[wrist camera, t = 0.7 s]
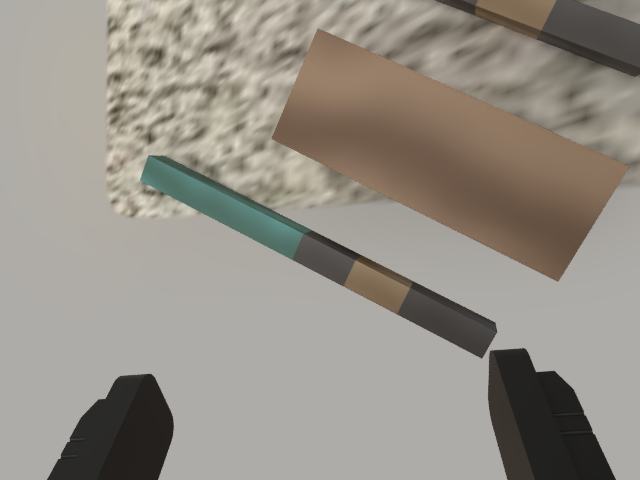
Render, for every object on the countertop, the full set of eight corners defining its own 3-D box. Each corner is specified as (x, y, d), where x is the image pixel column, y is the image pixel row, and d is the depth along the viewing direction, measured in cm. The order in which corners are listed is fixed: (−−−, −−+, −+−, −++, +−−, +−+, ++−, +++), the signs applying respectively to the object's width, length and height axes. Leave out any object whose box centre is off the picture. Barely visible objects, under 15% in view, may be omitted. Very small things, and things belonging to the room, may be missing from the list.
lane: (253, -105, 34) (241, -121, 32) (654, 42, 29) (667, 34, 27) (156, 179, 39) (139, 180, 37) (481, 347, 34) (482, 358, 32)
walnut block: (355, 63, 34) (317, 28, 25) (584, 166, 31) (629, 166, 22) (318, 145, 35) (271, 138, 27) (534, 251, 33) (558, 281, 24)
